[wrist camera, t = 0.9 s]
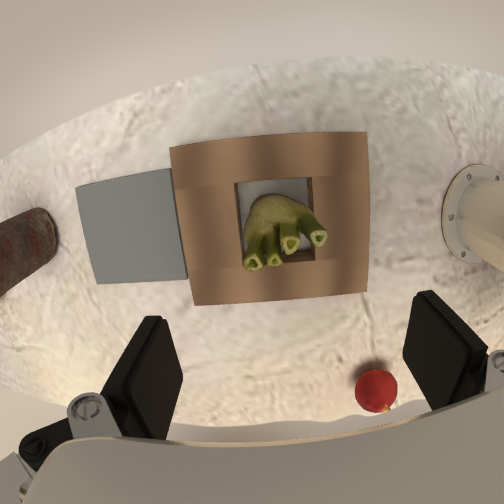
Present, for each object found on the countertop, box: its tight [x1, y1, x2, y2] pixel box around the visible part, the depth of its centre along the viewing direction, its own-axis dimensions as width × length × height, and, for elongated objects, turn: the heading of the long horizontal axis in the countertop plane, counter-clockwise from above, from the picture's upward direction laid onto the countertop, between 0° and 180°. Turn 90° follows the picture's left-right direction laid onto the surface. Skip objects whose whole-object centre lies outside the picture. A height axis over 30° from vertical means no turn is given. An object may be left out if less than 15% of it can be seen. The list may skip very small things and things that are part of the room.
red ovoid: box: [355, 369, 397, 413], centre depth 33 cm, size 6×6×8 cm
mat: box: [75, 168, 188, 284], centre depth 30 cm, size 12×12×1 cm
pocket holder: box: [169, 132, 370, 306], centre depth 28 cm, size 18×16×3 cm
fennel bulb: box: [242, 194, 328, 271], centre depth 24 cm, size 6×5×12 cm
